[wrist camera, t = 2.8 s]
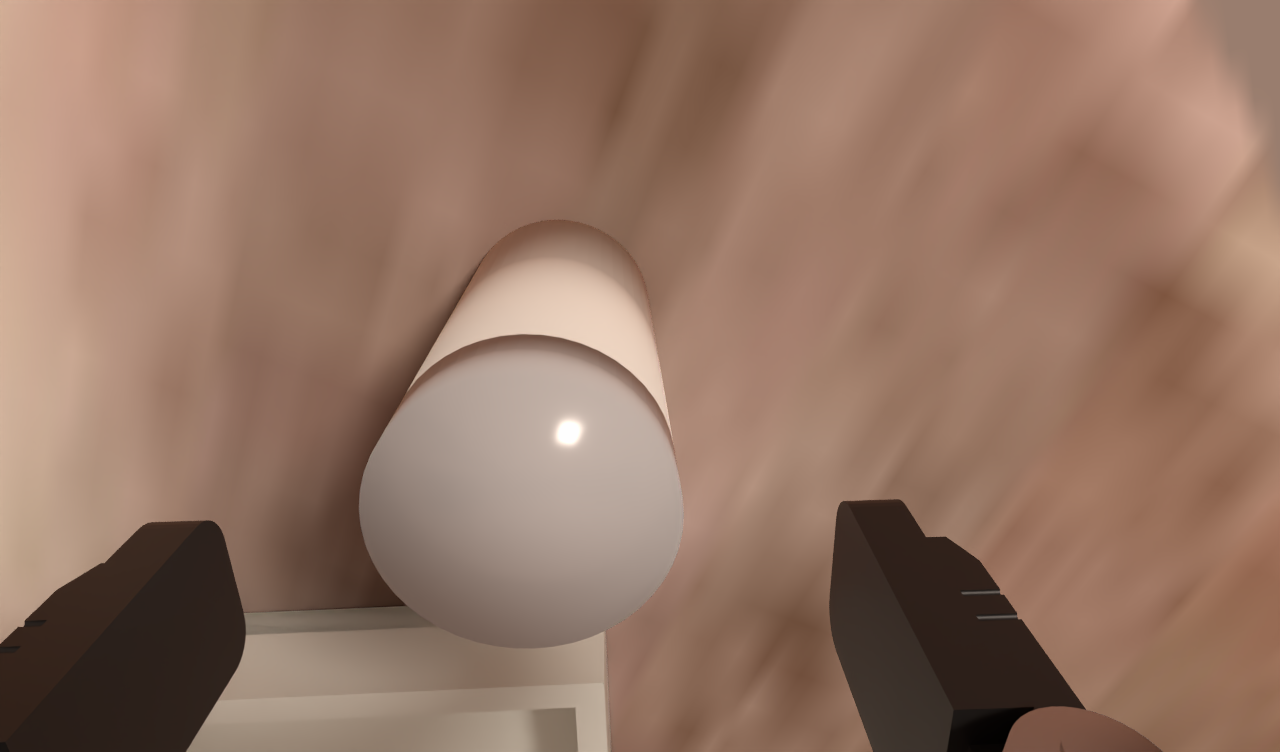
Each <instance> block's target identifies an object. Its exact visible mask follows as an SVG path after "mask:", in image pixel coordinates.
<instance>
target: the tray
mask: <svg viewBox="0 0 1280 752" xmlns="http://www.w3.org/2000/svg"><path fill="white" fill-rule="evenodd" d="M244 617H245V623H246V639H245V646H244V651H243V655H242V658H241V661H240V664H239V666H238V668H237V670H236V672H235V673H234V675H233V676H232V678H231V680H230V681H229V683H228V685H227V686H226V688H225V689H224V691H223V693H222V694H221V696H220V698H219V699H218V701H217V702H216V704H215V706H214V707H213V709H212V711H211V712H210V714H209V715H208V717H207V719H206V720H205V722H204V723H203V725H202V727H201V728H200V730H199V732H198V733H197V735H196V736H195V738H194V740H193V741H192V743H191V745H190V746H189V748H188V749H187V751H186V752H611V733H610V711H609V689H608V668H607V646H606V631H604V632H601V633H599V634H597V635H595V636H592V637H590V638H587V639H583V640H580V641H577V642H574V643H570V644H565V645H560V646H555V647H545V648H535V649H530V648H507V647H498V646H492V645H488V644H483V643H478V642H475V641H472V640H468V639H465V638H462V637H459V636H457V635H454V634H452V633H450V632H448V631H446V630H443V629H441V628H439V627H437V626H436V625H434V624H432V623H431V622H429V621H427V620H426V619H424V618H422V617H421V616H420V615H419V614H417V613H416V612H415V611H413V610H412V609H411V608H409V607H408V606H396V607H372V608H349V609H326V610H302V611H279V612H256V613H244Z"/></svg>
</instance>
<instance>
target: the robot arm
mask: <svg viewBox="0 0 1280 752" xmlns="http://www.w3.org/2000/svg"><path fill="white" fill-rule="evenodd" d="M829 610H830V623H831V631H832V636H833V641H834V645H835V648H836V651H837V654H838V657H839V660H840V662H841V665H842V668H843V671H844V673H845V676H846V679H847V681H848V684H849V687H850V690H851V692H852V695H853V698H854V701H855V703H856V706H857V709H858V711H859V714H860V717H861V720H862V722H863V725H864V728H865V730H866V733H867V736H868V739H869V741H870V744H871V747H872V750H873V752H1163V751H1162V750H1161V749H1159V748H1158V747H1157V746H1156V745H1155V744H1153V743H1152V742H1151V741H1150V740H1149V739H1147V738H1146V737H1144V736H1143V735H1141V734H1140V733H1138V732H1137V731H1135V730H1134V729H1132V728H1130V727H1128V726H1126V725H1125V724H1123V723H1121V722H1119V721H1116V720H1114V719H1112V718H1110V717H1107V716H1105V715H1102V714H1099V713H1096V712H1093V711H1088V710H1086V709H1085V707H1084V706H1083V705H1082V703H1081V702H1080V701H1079V699H1078V698H1077V696H1076V695H1075V694H1074V692H1073V691H1072V689H1071V688H1070V687H1069V685H1068V684H1067V682H1066V681H1065V680H1064V678H1063V677H1062V675H1061V674H1060V673H1059V671H1058V670H1057V668H1056V667H1055V666H1054V664H1053V663H1052V661H1051V660H1050V659H1049V657H1048V656H1047V654H1046V653H1045V652H1044V650H1043V649H1042V647H1041V646H1040V645H1039V643H1038V642H1037V640H1036V639H1035V638H1034V636H1033V635H1032V633H1031V632H1030V631H1029V629H1028V628H1027V626H1026V625H1025V624H1024V622H1023V621H1022V619H1020V620H1018V618H1017V612H1016V611H1015V610H1014V608H1013V607H1012V605H1011V604H1010V603H1009V601H1008V600H1007V598H1006V597H1005V596H1004V595H1001V594H1000V589H999V587H998V586H997V584H996V583H995V582H994V580H993V579H992V577H991V576H990V575H989V573H988V572H987V570H986V569H985V568H984V566H983V565H982V563H981V562H980V561H979V560H978V559H977V558H975V557H974V556H972V555H971V554H970V553H968V552H967V551H965V550H964V549H962V548H961V547H960V546H958V545H957V544H955V543H954V542H953V541H951V540H950V539H948V538H947V537H925V535H924V533H923V532H922V530H921V529H920V527H919V526H918V524H917V522H916V521H915V519H914V518H913V516H912V515H911V513H910V511H909V510H908V508H907V507H906V505H905V504H904V503H903V502H902V501H901V500H899V499H894V500H864V501H843V502H841V503H840V505H839V507H838V511H837V517H836V528H835V540H834V552H833V564H832V576H831V588H830V601H829ZM245 639H246V623H245V617H244V613H243V609H242V605H241V601H240V597H239V593H238V589H237V585H236V582H235V578H234V574H233V570H232V566H231V562H230V558H229V554H228V550H227V547H226V543H225V539H224V536H223V533H222V531H221V529H220V527H219V526H218V525H217V524H216V523H215V522H213V521H179V522H151V523H147V524H145V525H143V526H142V527H141V528H139V529H138V530H137V531H136V532H135V533H134V534H133V535H132V536H131V537H130V538H129V539H128V540H127V541H126V542H125V543H124V544H123V545H122V546H121V547H120V548H119V549H118V550H117V551H116V552H115V553H114V554H113V555H112V556H111V557H110V558H109V559H108V560H107V561H106V562H105V563H101V564H99V565H97V566H96V567H94V568H92V569H91V570H89V571H88V572H86V573H84V574H83V575H81V576H79V577H78V578H76V579H74V580H73V581H71V582H69V583H68V584H66V585H64V586H63V587H61V588H59V589H58V590H56V591H55V592H54V593H53V594H52V595H51V596H50V597H49V598H48V599H47V600H46V601H45V602H44V603H43V604H42V605H41V606H40V607H39V608H38V609H37V610H35V611H34V612H33V613H32V614H31V615H30V616H29V617H28V618H27V619H26V620H25V625H24V627H18V628H17V629H16V630H15V631H14V632H12V633H11V634H10V635H9V636H8V637H7V638H6V639H5V640H4V641H3V642H2V643H1V644H0V752H186V751H187V749H188V748H189V746H190V745H191V743H192V741H193V740H194V738H195V736H196V735H197V733H198V732H199V730H200V728H201V727H202V725H203V723H204V722H205V720H206V719H207V717H208V715H209V714H210V712H211V711H212V709H213V707H214V706H215V704H216V702H217V701H218V699H219V698H220V696H221V694H222V693H223V691H224V689H225V688H226V686H227V685H228V683H229V681H230V680H231V678H232V676H233V675H234V673H235V672H236V670H237V668H238V666H239V664H240V661H241V658H242V655H243V651H244V646H245Z"/></svg>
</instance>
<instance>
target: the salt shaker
mask: <svg viewBox="0 0 1280 752" xmlns="http://www.w3.org/2000/svg"><path fill="white" fill-rule="evenodd" d="M359 516H360V525H361V530H362V534H363V538H364V542H365V546H366V548H367V550H368V553H369V555H370V557H371V560H372V562H373V564H374V565H375V567H376V569H377V570H378V572H379V574H380V575H381V577H382V579H383V580H384V581H385V582H386V584H387V585H388V586H389V587H390V589H391V590H392V591H393V592H394V593H395V594H396V595H397V596H398V597H399V598H400V599H401V600H402V601H403V602H404V603H405V604H406V605H407V606H408V607H409V608H411V609H412V610H413V611H415V612H416V613H417V614H419V615H420V616H421V617H422V618H424V619H426V620H427V621H429V622H431V623H432V624H434V625H436V626H437V627H439V628H441V629H443V630H446V631H448V632H450V633H452V634H454V635H457V636H459V637H462V638H465V639H468V640H472V641H475V642H478V643H483V644H488V645H492V646H498V647H507V648H530V649H535V648H545V647H555V646H560V645H565V644H570V643H574V642H577V641H580V640H583V639H587V638H590V637H592V636H595V635H597V634H599V633H601V632H604V631H606V630H608V629H610V628H612V627H613V626H615V625H617V624H618V623H620V622H622V621H623V620H625V619H626V618H628V617H629V616H630V615H632V614H633V613H634V612H635V611H637V610H638V609H639V608H640V607H641V606H642V605H643V604H644V603H645V602H646V601H647V600H648V599H649V598H650V597H651V596H652V595H653V594H654V593H655V592H656V590H657V589H658V588H659V586H660V585H661V584H662V582H663V581H664V579H665V578H666V576H667V574H668V572H669V571H670V569H671V567H672V565H673V562H674V560H675V557H676V555H677V552H678V550H679V545H680V541H681V537H682V532H683V519H684V510H683V497H682V491H681V485H680V479H679V473H678V468H677V462H676V456H675V450H674V444H673V439H672V433H671V427H670V421H669V415H668V409H667V404H666V398H665V392H664V386H663V380H662V375H661V369H660V363H659V357H658V351H657V346H656V340H655V334H654V328H653V322H652V317H651V311H650V305H649V299H648V294H647V289H646V285H645V282H644V279H643V276H642V274H641V271H640V270H639V268H638V266H637V264H636V262H635V261H634V259H633V258H632V257H631V255H630V254H629V253H628V252H627V251H626V250H625V248H624V247H623V246H622V245H621V244H619V243H618V242H617V241H616V240H615V239H613V238H612V237H611V236H609V235H607V234H606V233H604V232H603V231H601V230H599V229H596V228H594V227H592V226H589V225H586V224H583V223H580V222H574V221H568V220H547V221H540V222H536V223H531V224H528V225H526V226H523V227H520V228H518V229H516V230H515V231H513V232H511V233H509V234H508V235H506V236H505V237H504V238H502V239H501V240H499V241H498V242H497V243H496V244H495V245H494V246H493V247H492V248H491V249H490V251H489V252H488V253H487V255H486V256H485V257H484V259H483V260H482V262H481V264H480V266H479V267H478V269H477V271H476V273H475V274H474V276H473V278H472V280H471V281H470V283H469V285H468V286H467V288H466V290H465V292H464V293H463V295H462V297H461V299H460V300H459V302H458V304H457V306H456V307H455V309H454V311H453V312H452V314H451V316H450V318H449V319H448V321H447V323H446V325H445V326H444V328H443V330H442V332H441V333H440V335H439V337H438V339H437V340H436V342H435V344H434V345H433V347H432V349H431V351H430V352H429V354H428V356H427V358H426V359H425V361H424V363H423V365H422V366H421V368H420V370H419V372H418V373H417V375H416V377H415V378H414V380H413V382H412V384H411V385H410V387H409V389H408V391H407V392H406V394H405V396H404V398H403V399H402V401H401V403H400V405H399V406H398V408H397V410H396V411H395V413H394V415H393V417H392V418H391V420H390V422H389V424H388V425H387V427H386V429H385V431H384V432H383V434H382V436H381V437H380V439H379V441H378V443H377V444H376V446H375V448H374V450H373V451H372V453H371V455H370V457H369V460H368V463H367V465H366V468H365V470H364V473H363V478H362V483H361V488H360V496H359Z"/></svg>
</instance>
